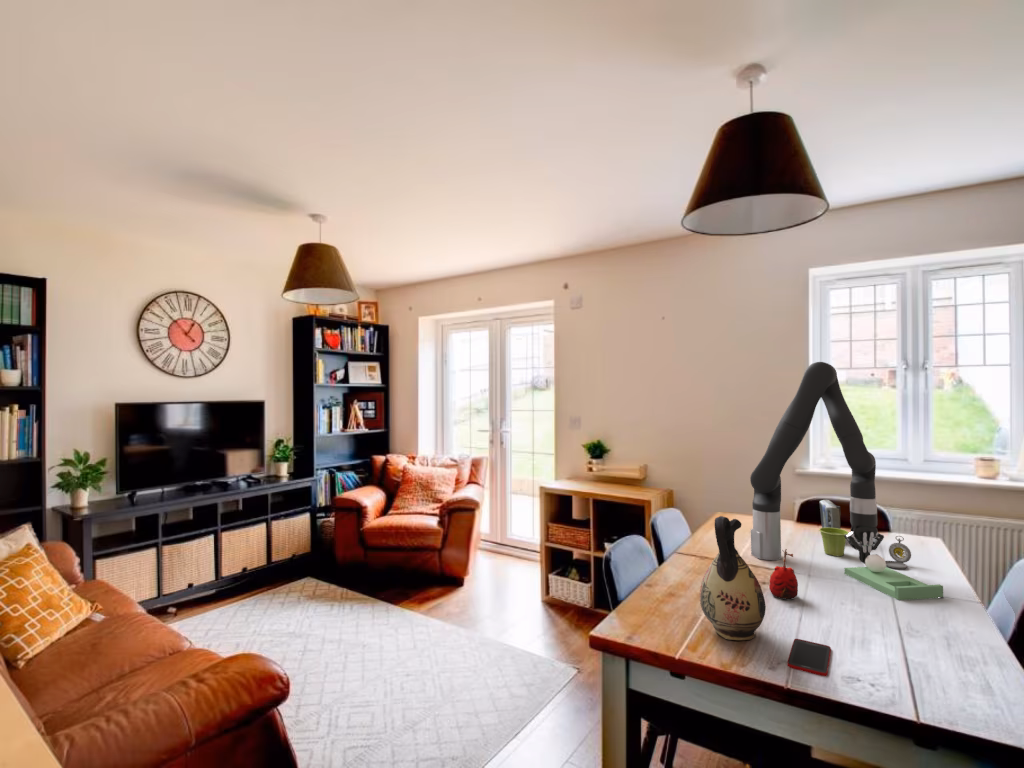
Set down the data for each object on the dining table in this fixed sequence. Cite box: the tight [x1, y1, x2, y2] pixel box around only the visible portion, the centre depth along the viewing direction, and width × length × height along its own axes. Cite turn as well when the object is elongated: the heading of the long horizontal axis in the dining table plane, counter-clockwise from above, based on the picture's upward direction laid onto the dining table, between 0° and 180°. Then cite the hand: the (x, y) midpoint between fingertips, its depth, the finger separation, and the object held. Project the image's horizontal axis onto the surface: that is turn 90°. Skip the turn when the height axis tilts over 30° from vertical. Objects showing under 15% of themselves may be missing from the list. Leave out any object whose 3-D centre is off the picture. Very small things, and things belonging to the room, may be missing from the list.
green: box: [843, 566, 944, 601], centre depth 162 cm, size 14×22×4 cm, turn 4°
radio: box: [818, 499, 842, 529], centre depth 217 cm, size 23×9×15 cm, turn 148°
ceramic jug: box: [699, 515, 767, 649], centre depth 132 cm, size 17×15×30 cm
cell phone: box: [786, 638, 832, 677], centre depth 119 cm, size 8×15×1 cm, turn 145°
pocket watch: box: [885, 535, 912, 570], centre depth 179 cm, size 8×8×10 cm
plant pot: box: [818, 527, 850, 557], centre depth 193 cm, size 9×9×9 cm
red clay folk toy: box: [768, 548, 799, 601], centre depth 155 cm, size 8×7×15 cm
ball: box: [865, 553, 887, 573], centre depth 168 cm, size 6×6×6 cm
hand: (864, 562), depth 173 cm, fingers closed
